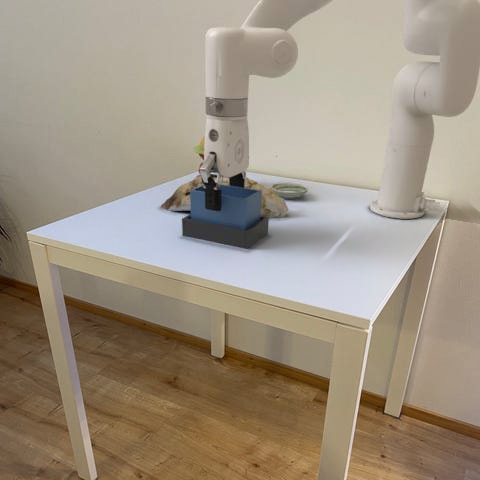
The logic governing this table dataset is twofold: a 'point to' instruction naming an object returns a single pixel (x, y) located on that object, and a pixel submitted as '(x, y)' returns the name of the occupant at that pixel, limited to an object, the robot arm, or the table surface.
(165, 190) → the table surface
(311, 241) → the table surface
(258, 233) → the charcoal bin
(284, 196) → the saucer
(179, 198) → the rock
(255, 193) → the blue bin
